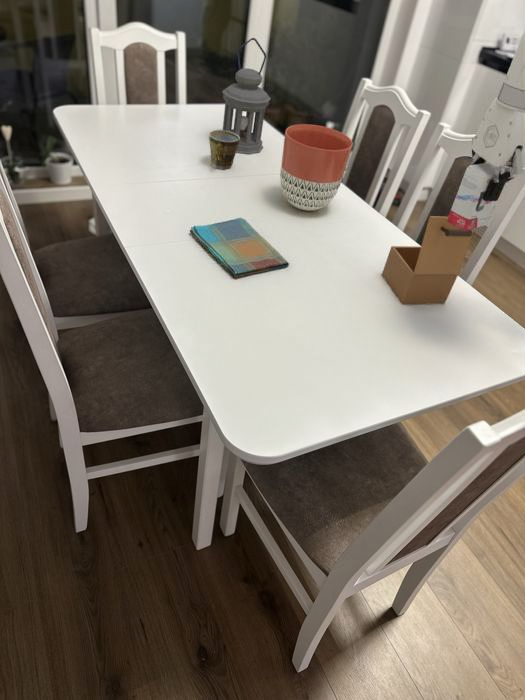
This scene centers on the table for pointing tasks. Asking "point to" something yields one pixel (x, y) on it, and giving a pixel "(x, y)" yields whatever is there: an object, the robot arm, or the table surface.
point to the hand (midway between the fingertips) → (480, 191)
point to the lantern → (246, 107)
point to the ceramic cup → (223, 148)
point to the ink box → (473, 198)
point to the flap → (442, 248)
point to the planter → (313, 165)
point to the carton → (415, 278)
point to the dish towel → (238, 247)
